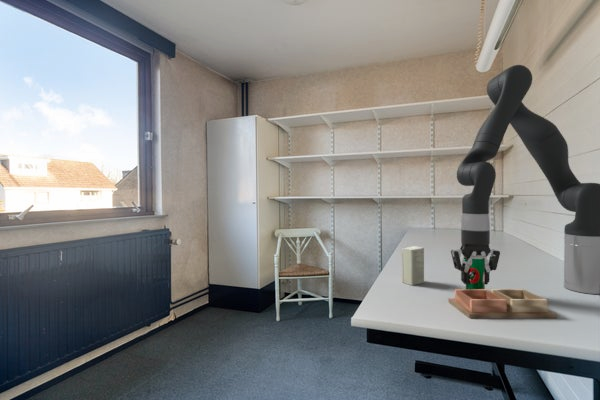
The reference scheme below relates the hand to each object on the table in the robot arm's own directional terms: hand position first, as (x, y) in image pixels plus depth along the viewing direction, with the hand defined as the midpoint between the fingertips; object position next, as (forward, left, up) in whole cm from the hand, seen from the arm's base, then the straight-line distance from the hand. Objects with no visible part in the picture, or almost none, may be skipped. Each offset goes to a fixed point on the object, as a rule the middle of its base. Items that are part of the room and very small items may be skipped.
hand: (475, 283), depth 93 cm
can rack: (+1, +13, -3) cm, 13 cm away
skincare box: (+15, -11, -3) cm, 19 cm away
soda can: (0, 0, -3) cm, 3 cm away
